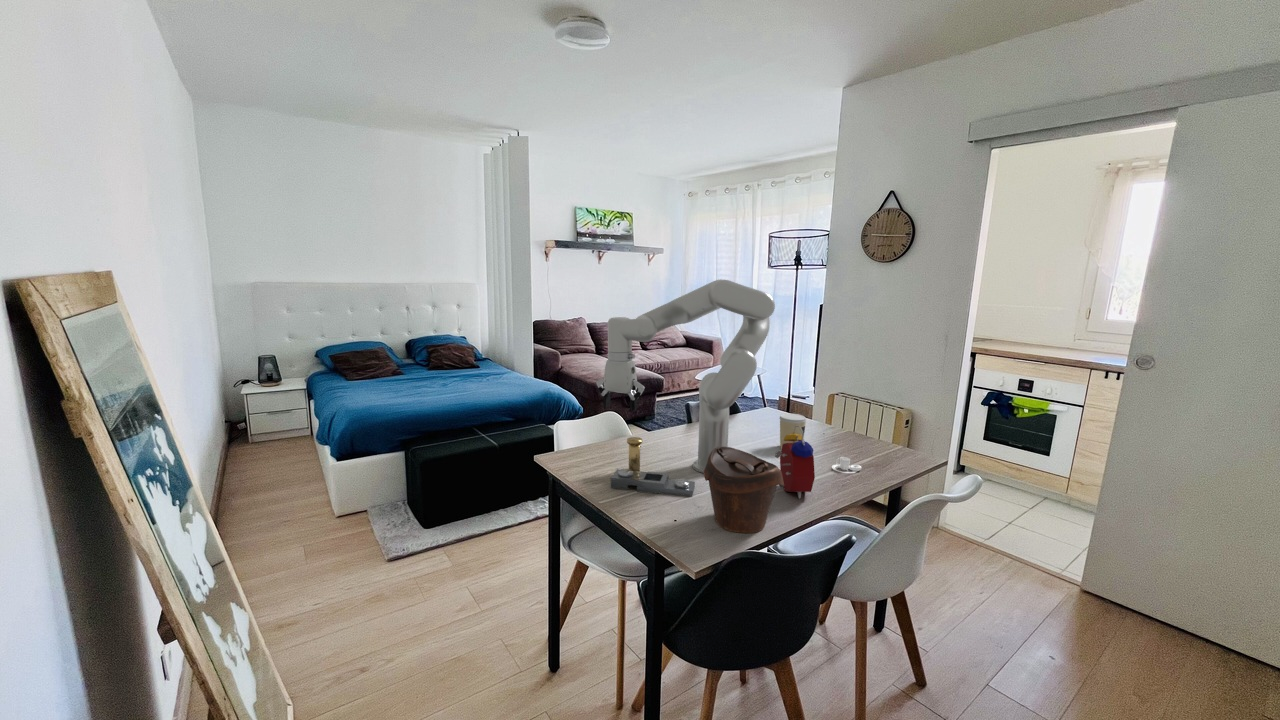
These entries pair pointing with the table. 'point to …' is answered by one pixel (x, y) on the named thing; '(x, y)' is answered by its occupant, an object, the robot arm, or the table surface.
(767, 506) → the brown flower pot
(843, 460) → the teacup and saucer
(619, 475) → the grey bolted base plate
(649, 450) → the table surface
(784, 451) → the alarm clock
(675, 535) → the table surface
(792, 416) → the coffee cup
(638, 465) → the pin
